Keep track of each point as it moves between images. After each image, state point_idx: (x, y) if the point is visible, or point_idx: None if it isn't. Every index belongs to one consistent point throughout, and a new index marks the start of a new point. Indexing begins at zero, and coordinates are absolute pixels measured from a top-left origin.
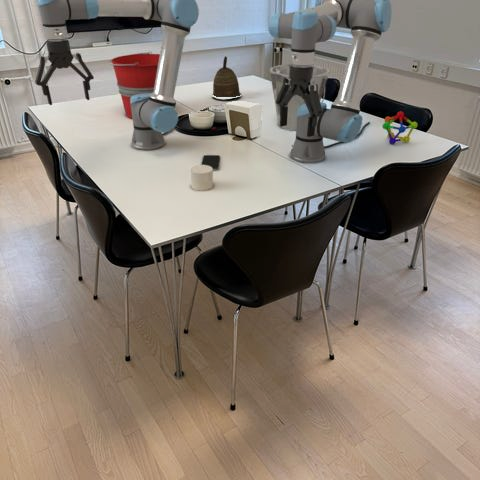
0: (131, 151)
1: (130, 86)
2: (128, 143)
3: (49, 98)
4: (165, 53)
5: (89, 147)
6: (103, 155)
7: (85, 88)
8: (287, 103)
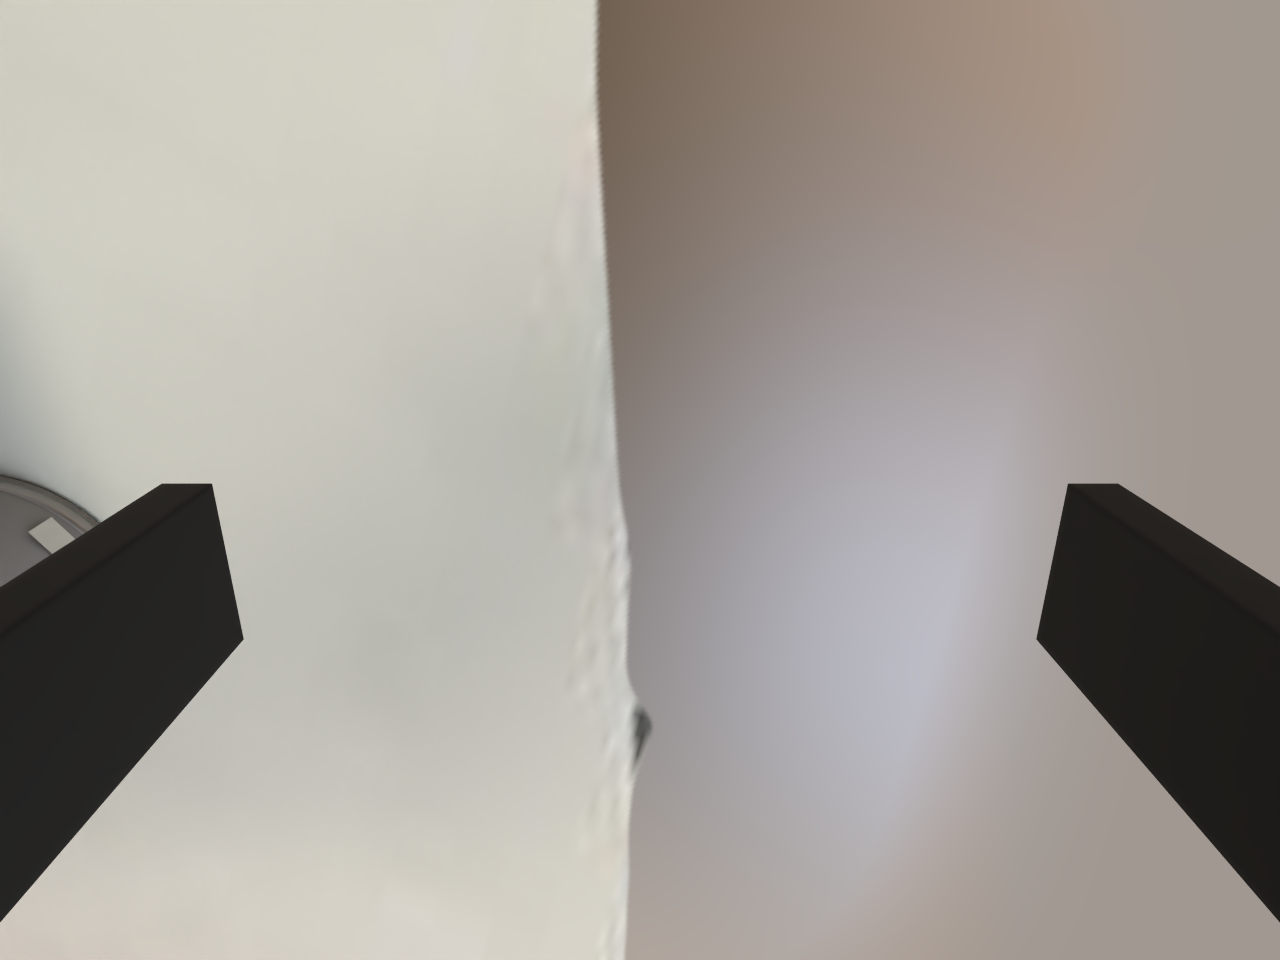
0: None
1: None
2: None
3: (1202, 555)
4: None
5: (469, 755)
6: (408, 559)
7: (7, 655)
8: None
